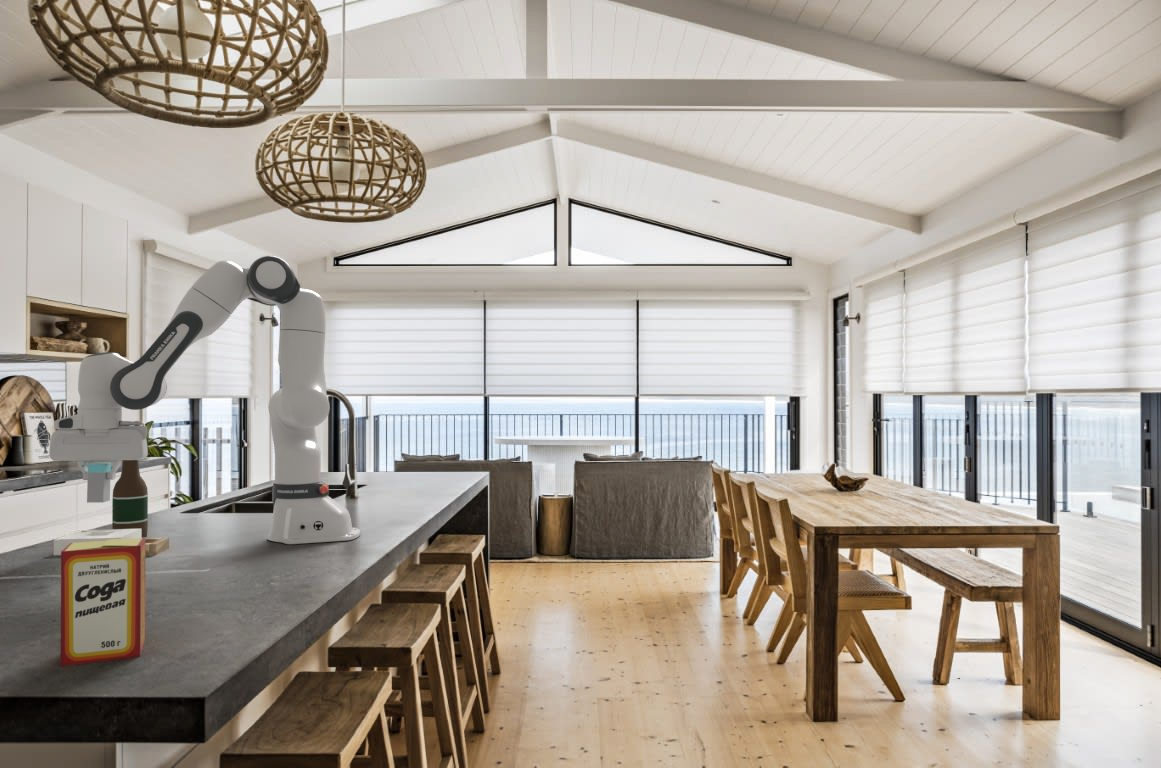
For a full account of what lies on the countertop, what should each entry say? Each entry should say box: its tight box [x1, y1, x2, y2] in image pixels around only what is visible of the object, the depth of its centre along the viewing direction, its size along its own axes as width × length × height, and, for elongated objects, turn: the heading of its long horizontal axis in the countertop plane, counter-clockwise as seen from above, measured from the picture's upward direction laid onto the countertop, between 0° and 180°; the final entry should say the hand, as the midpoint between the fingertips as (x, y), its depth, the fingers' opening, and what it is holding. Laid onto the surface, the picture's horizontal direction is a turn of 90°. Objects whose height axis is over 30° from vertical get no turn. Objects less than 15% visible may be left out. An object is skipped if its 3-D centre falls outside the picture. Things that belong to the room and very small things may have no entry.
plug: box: [86, 462, 112, 504], centre depth 181 cm, size 4×4×9 cm
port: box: [53, 528, 142, 556], centre depth 181 cm, size 14×12×4 cm
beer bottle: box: [111, 460, 149, 538], centre depth 196 cm, size 8×8×24 cm
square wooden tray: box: [145, 537, 170, 557], centre depth 177 cm, size 8×8×3 cm
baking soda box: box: [59, 537, 147, 667], centre depth 110 cm, size 10×6×16 cm
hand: (99, 479), depth 181 cm, fingers closed on plug, 3 cm apart
